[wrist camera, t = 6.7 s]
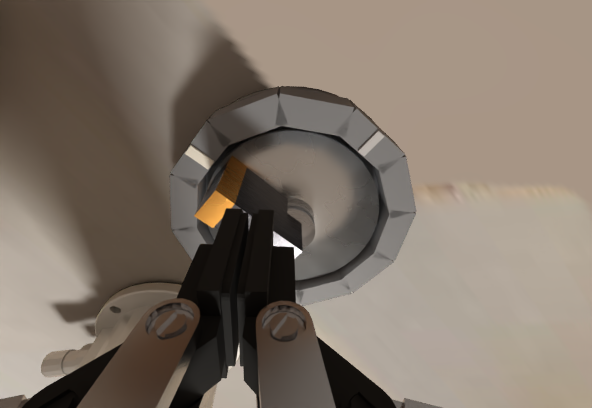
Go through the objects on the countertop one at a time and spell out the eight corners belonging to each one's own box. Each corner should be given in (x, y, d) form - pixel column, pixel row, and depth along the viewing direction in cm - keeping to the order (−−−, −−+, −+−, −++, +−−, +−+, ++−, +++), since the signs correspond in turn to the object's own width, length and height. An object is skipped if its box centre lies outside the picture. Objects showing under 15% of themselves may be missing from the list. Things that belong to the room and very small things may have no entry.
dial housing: (220, 284, 25) (211, 318, 22) (148, 106, 18) (120, 122, 15) (399, 261, 24) (414, 293, 21) (399, 60, 17) (422, 67, 14)
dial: (408, 199, 19) (443, 253, 15) (299, 289, 23) (300, 354, 19) (282, 84, 16) (277, 108, 11) (178, 213, 20) (143, 269, 15)
